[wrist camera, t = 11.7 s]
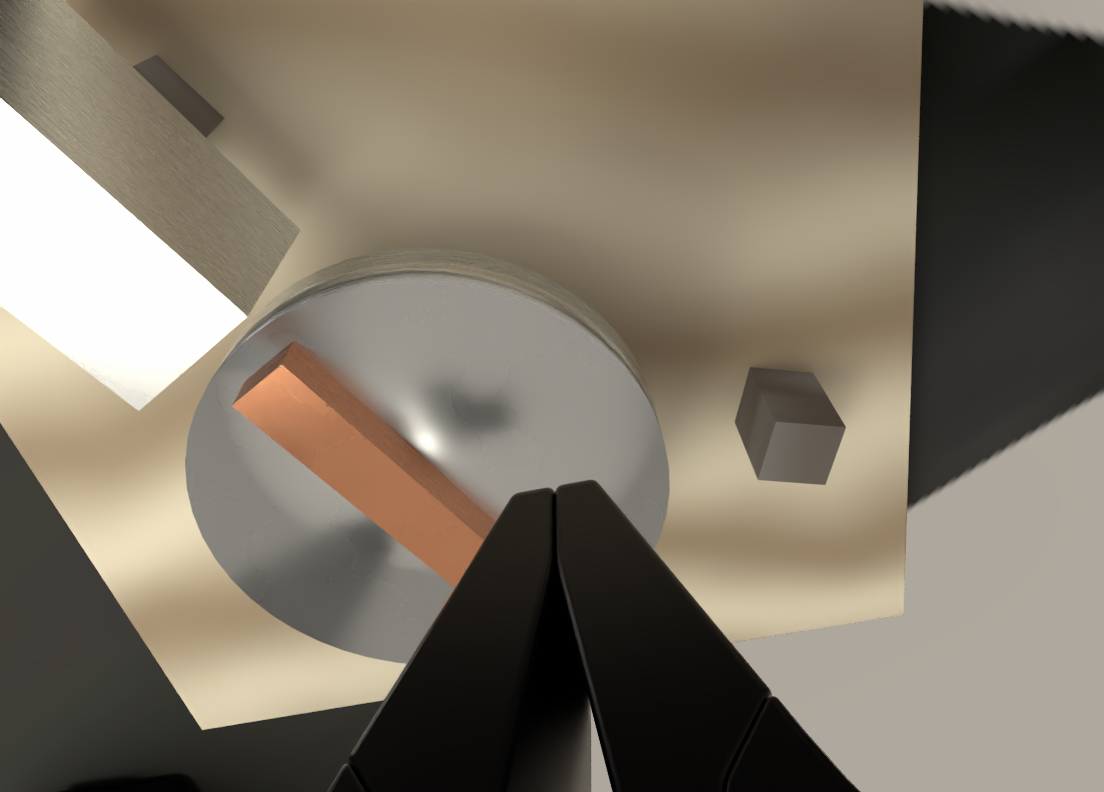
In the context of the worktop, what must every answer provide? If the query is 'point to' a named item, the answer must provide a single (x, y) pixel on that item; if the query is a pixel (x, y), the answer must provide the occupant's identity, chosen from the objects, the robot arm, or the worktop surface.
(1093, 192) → the worktop surface
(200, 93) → the base plate
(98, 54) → the grey piece
